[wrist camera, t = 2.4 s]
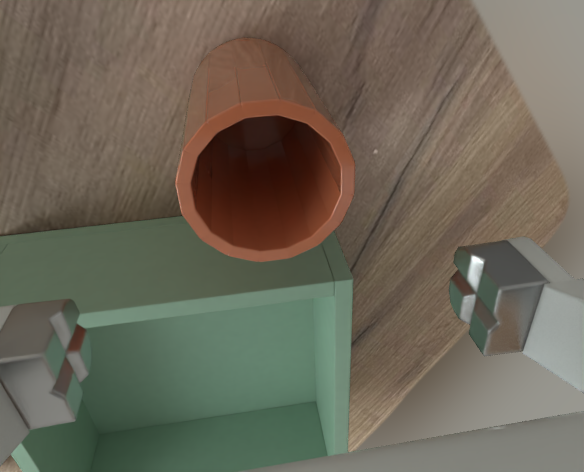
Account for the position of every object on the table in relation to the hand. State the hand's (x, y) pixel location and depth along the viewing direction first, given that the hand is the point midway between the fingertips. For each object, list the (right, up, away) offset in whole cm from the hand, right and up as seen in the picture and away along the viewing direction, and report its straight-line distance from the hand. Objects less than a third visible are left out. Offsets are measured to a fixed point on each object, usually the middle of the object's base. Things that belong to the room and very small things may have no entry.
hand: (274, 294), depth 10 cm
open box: (-6, -5, +18) cm, 20 cm away
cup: (-2, +8, +11) cm, 14 cm away
